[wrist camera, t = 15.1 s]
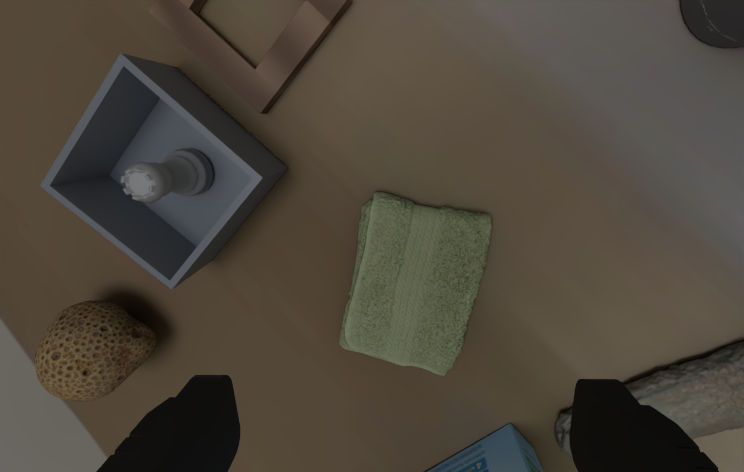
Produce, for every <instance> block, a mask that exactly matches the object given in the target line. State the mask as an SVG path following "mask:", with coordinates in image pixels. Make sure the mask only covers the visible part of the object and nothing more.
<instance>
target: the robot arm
mask: <svg viewBox="0 0 744 472" xmlns="http://www.w3.org/2000/svg"><path fill="white" fill-rule="evenodd" d="M681 10H682V13H683V16H684V19H685V22H686V24H687V26H688V27H689V29H690V30H691V32H692V33H693V34H694V35H695V36H696V37H697V38H699V39H700V40H701V41H703V42H705V43H707V44H709V45H711V46H716V47H720V48H736V47H741V46H744V0H681ZM239 440H240V423H239V418H238V412H237V407H236V401H235V395H234V390H233V384H232V380H231V378H230V377H229V376H228V375H195V376H194V377H192V378H191V379H190V380H189V382H188V383H187V384H186V385H185V387H184V388H183V389H182V390H181V391H180V393H179V394H178V395H177V396H176V397H170V398H168V399H167V400H166V401H164V402H163V403H161V404H160V405H159V406H157V407H156V408H154V409H153V410H152V411H150V412H149V413H147V414H146V416H145V417H144V418H143V419H142V420H141V421H140V422H139V424H138V425H137V426H136V427H135V428H134V429H133V430H132V432H131V433H130V436H129V437H126V438H125V440H124V441H123V442H122V443H121V444H120V445H119V446H118V448H117V449H116V450H115V454H114V455H111V456H110V457H109V458H108V459H107V460H106V461H105V463H104V464H103V465H102V466H101V467H100V468H99V469H98V471H97V472H228V470H229V468H230V466H231V464H232V462H233V460H234V457H235V455H236V453H237V449H238V446H239ZM569 442H570V449H571V454H572V457H573V461H574V463H575V466H576V468H577V470H578V472H719V471H718V467H717V466H716V465H715V464H714V463H713V462H712V461H711V460H710V459H709V458H708V456H707V455H706V454H705V453H704V452H700V450H699V447H698V446H697V445H696V443H695V442H694V441H693V440H692V439H691V438H690V437H689V436H688V435H687V434H686V433H685V432H684V430H683V429H682V428H681V427H680V426H679V425H678V424H677V423H675V422H674V421H672V420H671V419H669V418H668V417H666V416H665V415H664V414H662V413H661V412H659V411H658V410H656V409H655V408H653V407H652V406H650V405H641V404H640V403H639V402H638V401H637V400H636V399H635V397H634V396H633V395H632V394H631V393H630V391H629V390H628V389H627V388H626V387H625V386H624V385H623V383H622V382H620V381H619V380H616V379H580V380H578V381H577V383H576V387H575V394H574V402H573V409H572V417H571V425H570V433H569Z"/></svg>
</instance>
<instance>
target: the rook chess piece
mask: <svg viewBox="0 0 744 472" xmlns="http://www.w3.org/2000/svg"><path fill="white" fill-rule="evenodd" d="M124 172H125V176H121V182H120V183H125V185H126V188H124V189H123V191H124V192H125V194H126V195H127V194H131V195H132V196H133V197H132V199H134V200H137V201H141V202H145V203H154V202H156V201H158V200H159V199H161V197H162V196H166V195H167V194H169V193H170V192H174V193H176V194H179V195H182V196H194V195H200V194H201V193H203V192H205V191H207V189H208V188H209V186H210V185H211V183H212V177H213V173H212V168H211V165H210V163H209V162H208V160H207V158H206V157H205V156H204V155H202V154H201V153H200V152H199V151H197V150H193V149H190V148H184V149H179V150H175V151H173V152H171V153H170V154H168V155H167V156H166V157H165V159H164V160H163V162H162V163H160V164H159V163H156V162H154V163H147V162H144V161H141V162H135V163H133V164H132V165H130V166H129V167H128V169H127V170H125V171H124Z"/></svg>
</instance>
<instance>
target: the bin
mask: <svg viewBox="0 0 744 472" xmlns="http://www.w3.org/2000/svg"><path fill="white" fill-rule="evenodd" d="M184 148H190V149H193V150H197V151H199V152H200V153H201V154H202V155H204V156H205V157H206V158H207V160H208V162H209V163H210V165H211V168H212V173H213V177H212V183H211V185H210V186H209V188H208V189H207V191H205V192H203V193H201V194H200V195H194V196H182V195H179V194H176V193H174V192H170V193H169V194H167V195H166V196H162V197H161V199H159V200H158V201H156V202H154V203H145V202H141V201H137V200H134V199H132V197H133V196H132V195H131V194H127V195H126V194H125V192H124V191H123V189H124V188H126V185H125V183H120V182H121V176H125V172H124V171H125V170H127V169H128V167H129V166H130V165H132V164H133V163H135V162H141V161H144V162H147V163H154V162H156V163H159V164H160V163H162V162H163V160H164V159H165V157H166V156H167V155H168V154H170V153H171V152H173V151H175V150H179V149H184ZM287 169H288V167H287V166H286V165H285V164H284V163H283V162H282V161H281V160H280V159H278V158H277V157H276V156H275V155H274V154H273V153H272V152H271V151H269V150H268V149H267V148H266V147H265V146H264V145H263V144H262V143H261V142H259V141H258V140H257V139H256V138H255V137H254V136H253V135H252V134H250V133H249V132H248V131H247V130H246V129H245V128H244V127H243V126H242V125H240V124H239V123H238V122H237V121H236V120H235V119H234V118H233V117H231V116H230V115H229V114H228V113H227V112H226V111H225V110H224V109H222V108H221V107H220V106H219V105H218V104H217V103H216V102H215V101H214V100H212V99H211V98H210V97H209V96H208V95H207V94H206V93H205V92H203V91H202V90H201V89H200V88H199V87H198V86H197V85H196V84H195V83H193V82H192V81H191V80H190V79H189V78H188V77H187V76H186V75H184V74H183V73H182V72H181V71H180V70H179V69H178V68H177V67H174V66H170V65H166V64H162V63H158V62H154V61H150V60H146V59H142V58H138V57H134V56H130V55H126V54H122V53H121V54H120V55H119V57H118V59H117V60H116V62H115V63H114V65H113V67H112V68H111V70H110V72H109V73H108V75H107V77H106V78H105V80H104V82H103V83H102V85H101V86H100V88H99V90H98V91H97V93H96V95H95V96H94V98H93V100H92V101H91V103H90V105H89V106H88V108H87V110H86V111H85V113H84V114H83V116H82V118H81V119H80V121H79V123H78V124H77V126H76V128H75V129H74V131H73V133H72V134H71V136H70V137H69V139H68V141H67V142H66V144H65V146H64V147H63V149H62V151H61V152H60V154H59V156H58V157H57V159H56V160H55V162H54V164H53V165H52V167H51V169H50V170H49V172H48V174H47V175H46V177H45V179H44V180H43V182H42V184H41V185H40V186H41V187H42V188H43V189H44V190H46V191H47V192H48V193H50V194H51V195H52V196H53V197H55V198H56V199H57V200H58V201H60V202H61V203H62V204H64V205H65V206H66V207H67V208H69V209H70V210H71V211H72V212H74V213H75V214H76V215H77V216H79V217H80V218H81V219H83V220H84V221H85V222H86V223H88V224H89V225H90V226H91V227H93V228H94V229H95V230H97V231H98V232H99V233H100V234H102V235H103V236H104V237H105V238H107V239H108V240H109V241H110V242H112V243H113V244H114V245H116V246H117V247H118V248H119V249H121V250H122V251H123V252H124V253H126V254H127V255H128V256H130V257H131V258H132V259H133V260H135V261H136V262H137V263H138V264H140V265H141V266H142V267H143V268H145V269H146V270H147V271H149V272H150V273H151V274H152V275H154V276H155V277H156V278H157V279H159V280H160V281H161V282H163V283H164V284H165V285H166V286H168V287H169V288H170V289H171V290H172V289H173V288H175V287H176V286H178V285H179V284H180V283H182V282H183V281H184V280H186V279H187V278H189V277H190V276H191V275H193V274H194V273H195V272H197V271H198V270H200V269H201V268H202V267H204V266H205V265H206V264H208V263H209V262H211V261H212V259H213V258H214V257H215V256H216V254H217V253H218V252H219V251H220V250H221V248H222V247H223V246H224V245H225V244H226V242H227V241H228V240H229V239H230V238H231V236H232V235H233V234H234V233H235V232H236V230H237V229H238V228H239V227H240V226H241V224H242V223H243V222H244V221H245V220H246V218H247V217H248V216H249V215H250V214H251V212H252V211H253V210H254V209H255V207H256V206H257V205H258V204H259V203H260V201H261V200H262V199H263V198H264V197H265V195H266V194H267V193H268V192H269V191H270V189H271V188H272V187H273V186H274V185H275V183H276V182H277V181H278V180H279V179H280V177H281V176H282V175H283V174H284V173H285V171H286V170H287Z"/></svg>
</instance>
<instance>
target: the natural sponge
mask: <svg viewBox="0 0 744 472" xmlns="http://www.w3.org/2000/svg"><path fill="white" fill-rule="evenodd" d="M155 346H156V336H155V333H154V332H153V331H152V330H151V328H149V327H148V326H146V325H145V324H143V323H141V322H139V321H138V320H136V319H134V318H132V317H131V316H130V315H129V314H128V313H127V312H126V311H125V310H124V309H123V308H121V307H120V306H118V305H116V304H114V303H111V302H107V301H85V302H81V303H78V304H75V305H73V306H71V307H69V308H67V309H65V310H63V311H62V312H60V313H59V314H58V315H57V316H56V317H55V318H54V319H53V321H52V323H51V325H50V326H49V328H48V329H47V331H46V333H45V335H44V336H43V338H42V340H41V342H40V344H39V347H38V349H37V352H36V357H35V367H36V372H37V376H38V380H39V381H40V383H41V385H42V386H43V387H44V389H46V390H47V391H48V392H49V393H50V394H52V395H54V396H56V397H58V398H61V399H65V400H71V401H91V400H95V399H99V398H101V397H104V396H106V395H107V394H109V393H111V392H112V391H113V390H114V389H115V388H117V387H118V386H119V385H120V384H121V383H122V382H123V381H124V380H125V379H126V378H128V377H129V376H130V375H131V374H132V373H133V372H134V370H136V369H137V368H138V367H139V366H140V365H141V364H142V363H143V362H144V361H145V360H146V359H147V358H148V357H149V356H150V355H151V353H152V352H153V350H154V349H155Z"/></svg>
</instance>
